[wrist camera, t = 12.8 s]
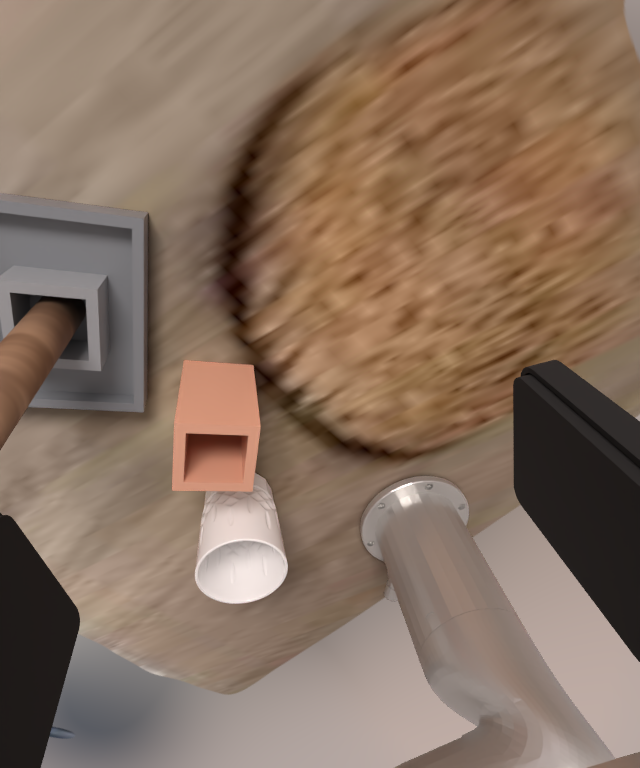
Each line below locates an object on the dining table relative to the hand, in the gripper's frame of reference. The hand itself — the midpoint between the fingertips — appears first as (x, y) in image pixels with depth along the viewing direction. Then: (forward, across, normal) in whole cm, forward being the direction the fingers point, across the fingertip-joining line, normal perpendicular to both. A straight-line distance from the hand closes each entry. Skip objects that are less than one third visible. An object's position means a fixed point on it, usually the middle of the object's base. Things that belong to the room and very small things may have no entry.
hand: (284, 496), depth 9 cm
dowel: (+32, +15, +4) cm, 36 cm away
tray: (+33, +15, +4) cm, 37 cm away
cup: (+33, +6, +15) cm, 37 cm away
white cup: (+34, +8, +28) cm, 44 cm away
